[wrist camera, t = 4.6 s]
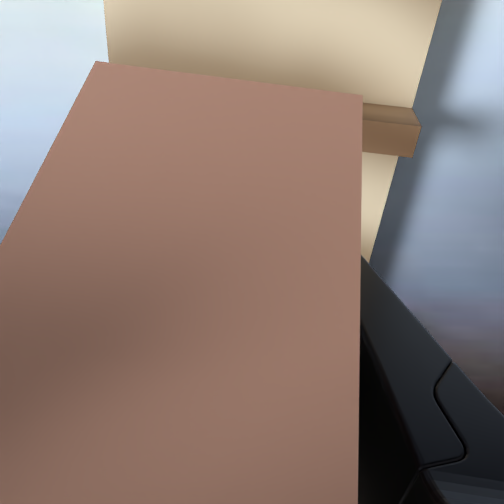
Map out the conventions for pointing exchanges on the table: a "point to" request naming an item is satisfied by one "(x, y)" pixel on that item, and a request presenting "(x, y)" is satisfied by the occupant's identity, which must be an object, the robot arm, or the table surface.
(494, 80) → the table surface
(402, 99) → the ledge
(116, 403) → the frame block
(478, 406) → the robot arm
